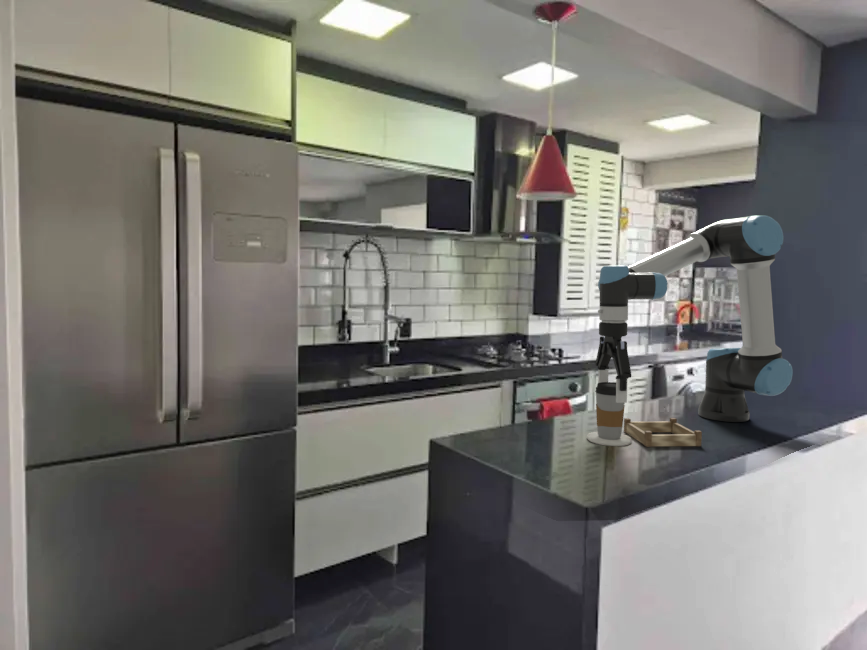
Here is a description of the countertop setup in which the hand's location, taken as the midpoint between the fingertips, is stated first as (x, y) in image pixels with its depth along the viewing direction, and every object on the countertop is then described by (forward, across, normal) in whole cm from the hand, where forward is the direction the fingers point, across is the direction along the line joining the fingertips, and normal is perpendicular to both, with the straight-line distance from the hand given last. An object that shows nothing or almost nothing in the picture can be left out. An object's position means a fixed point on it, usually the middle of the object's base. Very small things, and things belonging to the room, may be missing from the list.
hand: (611, 397), depth 159 cm
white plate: (+12, 0, -1) cm, 12 cm away
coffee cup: (+12, 0, -1) cm, 12 cm away
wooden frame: (+12, -1, +15) cm, 19 cm away
